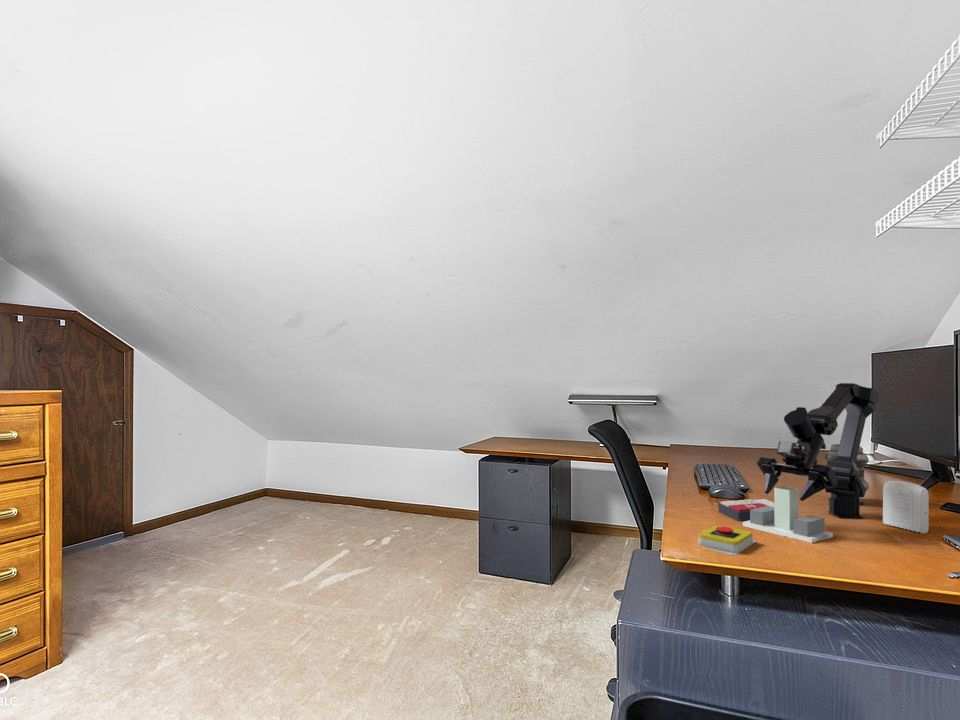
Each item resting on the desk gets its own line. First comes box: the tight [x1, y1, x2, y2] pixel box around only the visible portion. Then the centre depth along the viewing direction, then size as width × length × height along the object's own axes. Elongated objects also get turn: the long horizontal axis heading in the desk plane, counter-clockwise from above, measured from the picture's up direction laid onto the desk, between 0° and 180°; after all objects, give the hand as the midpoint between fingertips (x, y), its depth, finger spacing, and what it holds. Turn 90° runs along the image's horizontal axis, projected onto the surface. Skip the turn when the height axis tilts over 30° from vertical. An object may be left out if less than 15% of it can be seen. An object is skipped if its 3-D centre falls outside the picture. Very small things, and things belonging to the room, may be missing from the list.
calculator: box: [717, 498, 774, 522], centre depth 162 cm, size 11×4×15 cm
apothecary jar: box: [824, 443, 870, 506], centre depth 181 cm, size 12×12×18 cm
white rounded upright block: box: [882, 480, 930, 534], centre depth 150 cm, size 10×4×12 cm, turn 23°
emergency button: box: [697, 525, 757, 556], centre depth 135 cm, size 9×4×15 cm
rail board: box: [742, 506, 834, 544], centre depth 147 cm, size 18×10×4 cm, turn 32°
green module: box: [773, 485, 799, 530], centre depth 147 cm, size 4×4×10 cm
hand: (783, 496), depth 146 cm, fingers open, 9 cm apart
